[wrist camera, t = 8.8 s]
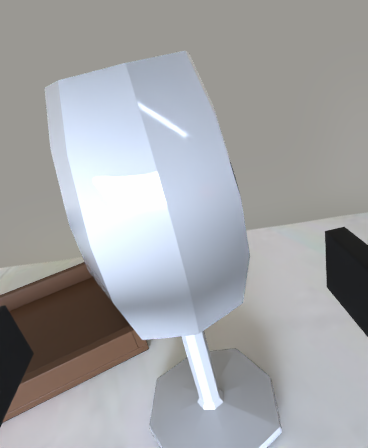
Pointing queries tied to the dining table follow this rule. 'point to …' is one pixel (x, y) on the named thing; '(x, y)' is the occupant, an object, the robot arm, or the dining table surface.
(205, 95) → the wineglass
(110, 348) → the serving tray
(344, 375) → the dining table surface
